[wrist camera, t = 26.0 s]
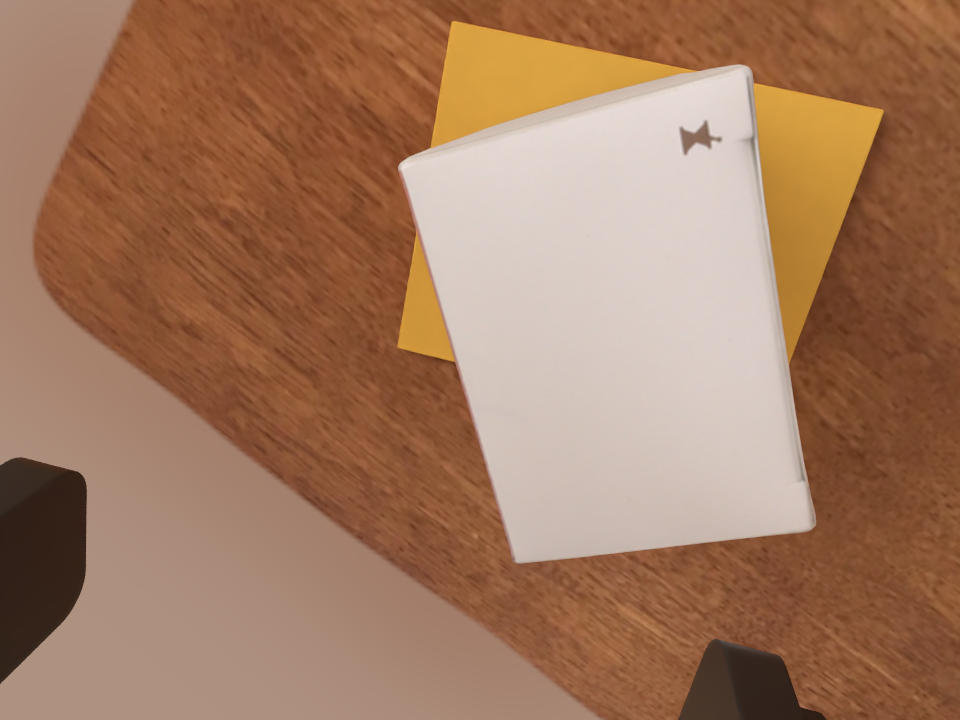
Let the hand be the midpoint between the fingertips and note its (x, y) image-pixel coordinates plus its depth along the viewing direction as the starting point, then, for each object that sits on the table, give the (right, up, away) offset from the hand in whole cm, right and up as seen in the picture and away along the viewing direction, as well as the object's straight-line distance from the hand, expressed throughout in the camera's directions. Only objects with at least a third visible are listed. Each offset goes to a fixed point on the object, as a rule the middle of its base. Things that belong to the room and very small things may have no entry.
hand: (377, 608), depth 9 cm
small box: (+5, +7, +13) cm, 15 cm away
